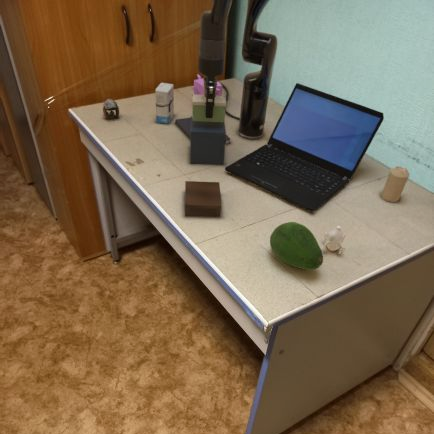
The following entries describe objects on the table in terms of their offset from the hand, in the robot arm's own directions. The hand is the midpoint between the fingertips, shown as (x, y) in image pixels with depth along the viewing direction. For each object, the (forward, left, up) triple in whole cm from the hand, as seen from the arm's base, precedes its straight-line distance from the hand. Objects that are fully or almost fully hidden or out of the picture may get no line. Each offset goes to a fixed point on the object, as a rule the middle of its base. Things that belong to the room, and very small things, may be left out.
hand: (208, 113), depth 133 cm
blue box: (0, 0, -15) cm, 15 cm away
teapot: (-44, +1, -15) cm, 46 cm away
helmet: (-27, -35, -15) cm, 47 cm away
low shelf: (+29, -2, -15) cm, 33 cm away
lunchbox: (0, 0, -2) cm, 2 cm away
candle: (+22, +57, -15) cm, 63 cm away
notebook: (-17, -1, -15) cm, 23 cm away
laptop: (+8, +30, -15) cm, 34 cm away
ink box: (-28, -15, -15) cm, 35 cm away
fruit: (+53, +21, -15) cm, 59 cm away
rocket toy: (+48, +32, -15) cm, 60 cm away
